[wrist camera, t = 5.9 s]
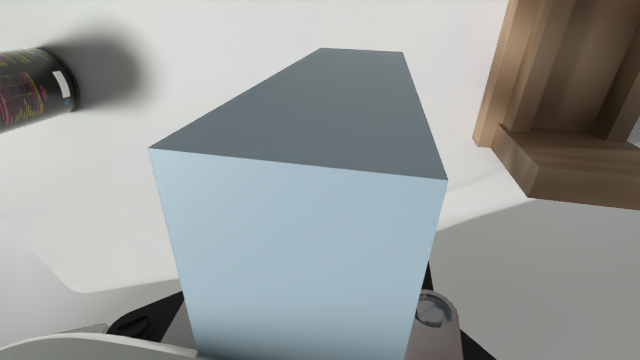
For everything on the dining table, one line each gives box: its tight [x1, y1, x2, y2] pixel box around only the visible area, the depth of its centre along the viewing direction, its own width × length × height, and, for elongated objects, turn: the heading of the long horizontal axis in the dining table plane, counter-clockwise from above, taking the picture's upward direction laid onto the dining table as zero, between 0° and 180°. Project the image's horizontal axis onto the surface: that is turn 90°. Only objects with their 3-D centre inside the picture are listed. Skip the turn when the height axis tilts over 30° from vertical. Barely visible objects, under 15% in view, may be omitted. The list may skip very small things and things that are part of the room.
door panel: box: [148, 48, 448, 360], centre depth 10 cm, size 12×3×10 cm, turn 178°
